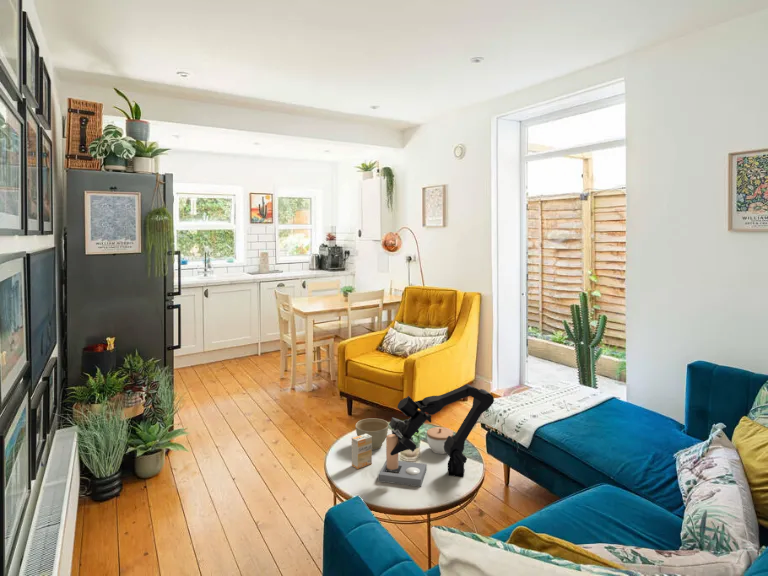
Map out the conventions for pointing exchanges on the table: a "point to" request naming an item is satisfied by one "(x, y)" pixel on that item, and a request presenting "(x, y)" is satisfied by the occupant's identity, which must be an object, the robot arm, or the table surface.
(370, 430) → the planter bowl
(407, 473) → the plate
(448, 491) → the table surface
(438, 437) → the lidded bowl
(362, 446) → the supplement box
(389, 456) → the cylinder
